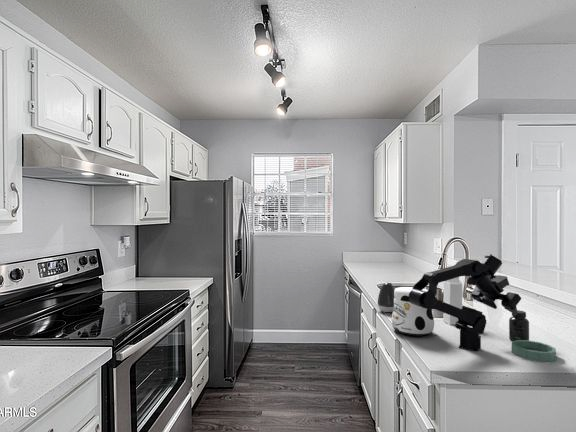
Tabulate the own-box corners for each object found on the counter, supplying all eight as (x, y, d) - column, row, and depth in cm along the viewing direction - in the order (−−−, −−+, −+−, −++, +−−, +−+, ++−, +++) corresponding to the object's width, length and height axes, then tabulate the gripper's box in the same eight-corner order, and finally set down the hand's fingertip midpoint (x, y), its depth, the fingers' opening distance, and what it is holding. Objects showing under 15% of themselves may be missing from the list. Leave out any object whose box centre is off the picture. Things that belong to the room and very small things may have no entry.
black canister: (400, 310, 194) (400, 282, 194) (394, 315, 185) (394, 285, 185) (381, 308, 199) (381, 280, 200) (374, 312, 191) (374, 283, 191)
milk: (462, 324, 169) (462, 277, 169) (449, 325, 169) (450, 277, 169) (454, 321, 176) (455, 275, 176) (442, 321, 175) (443, 275, 175)
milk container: (384, 332, 157) (384, 290, 157) (402, 324, 170) (402, 285, 170) (424, 341, 145) (424, 296, 145) (440, 332, 158) (440, 290, 158)
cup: (510, 355, 131) (510, 347, 131) (513, 345, 142) (513, 337, 142) (556, 364, 123) (556, 355, 123) (555, 353, 134) (555, 344, 134)
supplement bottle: (510, 337, 152) (510, 308, 152) (530, 341, 147) (530, 311, 147) (507, 341, 146) (507, 311, 146) (528, 345, 142) (528, 314, 142)
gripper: (517, 272, 134) (539, 300, 138) (476, 266, 152) (497, 291, 155) (500, 295, 132) (523, 323, 135) (461, 285, 150) (482, 311, 153)
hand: (506, 310), depth 145 cm, fingers open, 9 cm apart
